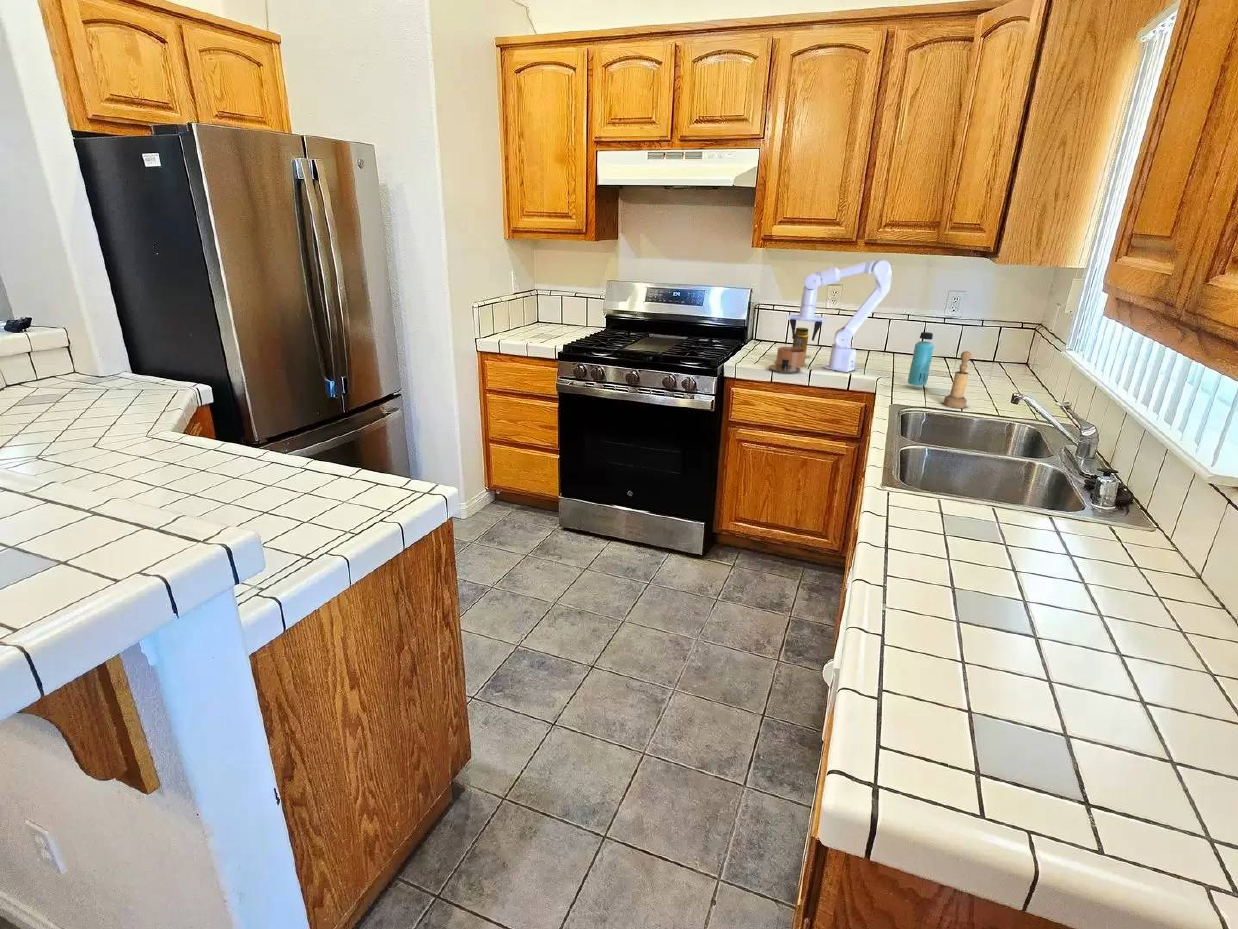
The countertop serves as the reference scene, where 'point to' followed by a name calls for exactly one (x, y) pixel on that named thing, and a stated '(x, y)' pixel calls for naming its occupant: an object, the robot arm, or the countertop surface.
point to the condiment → (801, 338)
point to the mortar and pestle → (959, 385)
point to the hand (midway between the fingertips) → (802, 339)
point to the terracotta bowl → (791, 355)
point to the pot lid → (784, 367)
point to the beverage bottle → (921, 360)
